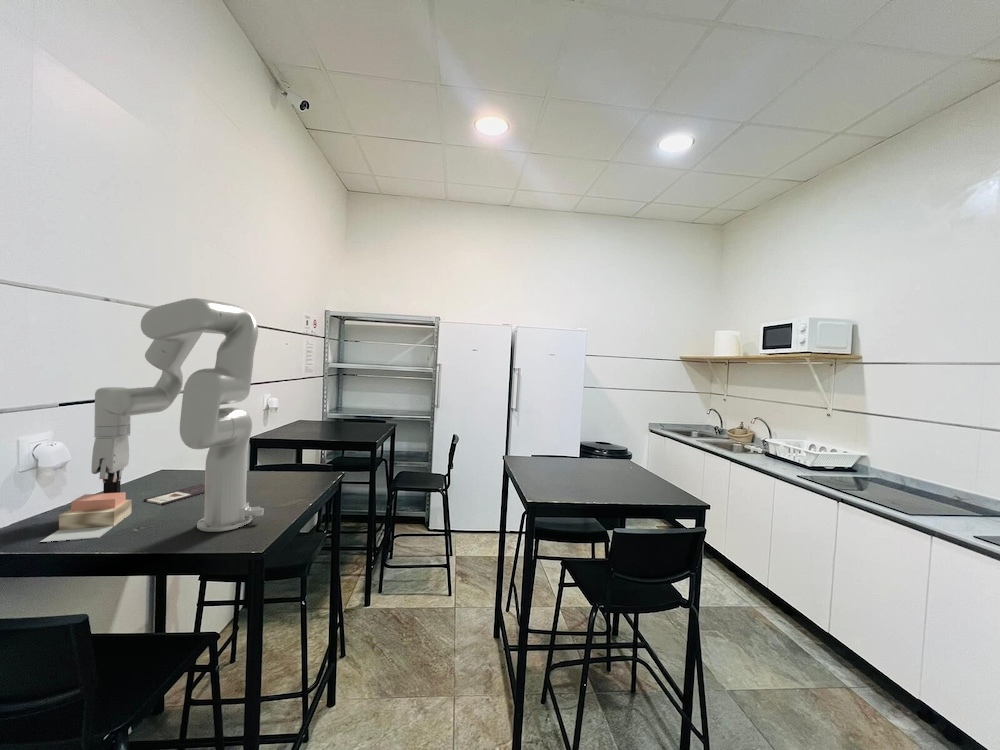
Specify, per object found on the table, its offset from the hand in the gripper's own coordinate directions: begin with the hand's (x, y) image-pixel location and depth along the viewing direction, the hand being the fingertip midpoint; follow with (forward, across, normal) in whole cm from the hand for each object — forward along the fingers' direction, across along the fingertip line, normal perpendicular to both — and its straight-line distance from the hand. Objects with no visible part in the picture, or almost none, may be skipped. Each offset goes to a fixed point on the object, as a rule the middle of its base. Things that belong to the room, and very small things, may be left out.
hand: (111, 495), depth 121 cm
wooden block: (+5, +8, 0) cm, 9 cm away
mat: (+5, +16, 0) cm, 17 cm away
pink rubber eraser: (+1, +6, 0) cm, 7 cm away
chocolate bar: (+6, -13, +13) cm, 20 cm away
